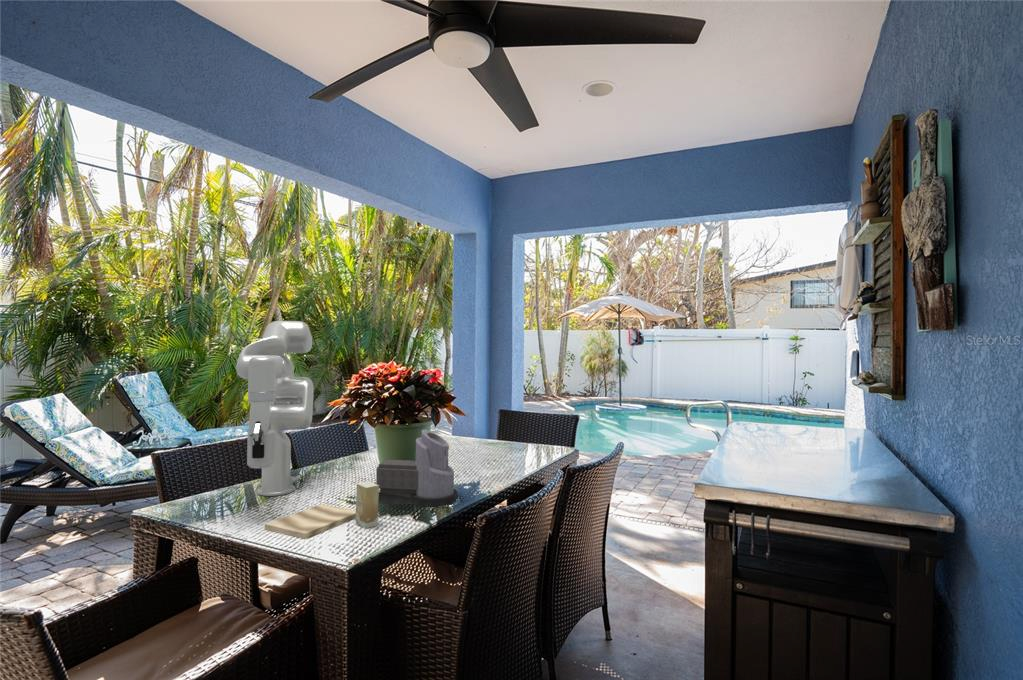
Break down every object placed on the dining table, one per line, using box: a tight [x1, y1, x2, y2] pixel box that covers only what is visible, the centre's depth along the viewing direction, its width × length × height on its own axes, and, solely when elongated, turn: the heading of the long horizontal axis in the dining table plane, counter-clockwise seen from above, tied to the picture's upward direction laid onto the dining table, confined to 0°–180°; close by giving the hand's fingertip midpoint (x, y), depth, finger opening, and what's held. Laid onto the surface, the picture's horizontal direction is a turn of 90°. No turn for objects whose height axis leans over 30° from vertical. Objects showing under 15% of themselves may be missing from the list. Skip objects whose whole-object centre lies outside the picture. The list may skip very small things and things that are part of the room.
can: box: [246, 426, 274, 469], centre depth 165 cm, size 8×8×12 cm
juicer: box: [375, 429, 459, 508], centre depth 188 cm, size 30×16×24 cm, turn 83°
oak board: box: [264, 503, 356, 540], centre depth 163 cm, size 22×16×2 cm
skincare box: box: [355, 480, 380, 529], centre depth 162 cm, size 6×4×12 cm
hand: (260, 454), depth 165 cm, fingers closed on can, 7 cm apart
